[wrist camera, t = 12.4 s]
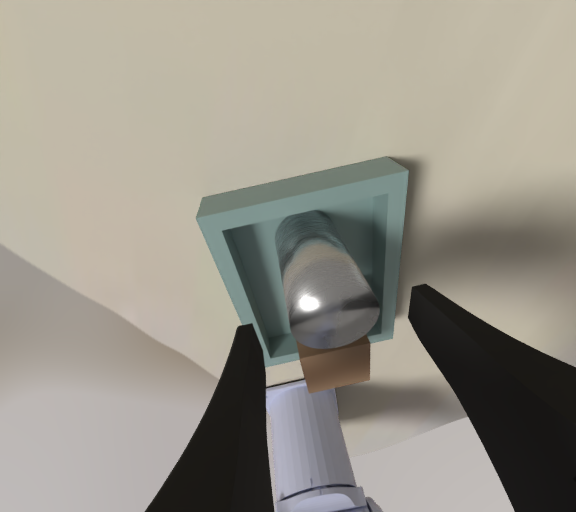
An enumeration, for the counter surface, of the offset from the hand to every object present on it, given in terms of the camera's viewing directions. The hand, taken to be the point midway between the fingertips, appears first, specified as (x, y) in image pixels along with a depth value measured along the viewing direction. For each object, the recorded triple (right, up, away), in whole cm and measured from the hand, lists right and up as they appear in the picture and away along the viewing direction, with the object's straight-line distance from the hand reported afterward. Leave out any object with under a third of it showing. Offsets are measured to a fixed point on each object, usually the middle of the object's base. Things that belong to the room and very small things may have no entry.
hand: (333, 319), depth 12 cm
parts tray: (0, +2, +8) cm, 8 cm away
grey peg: (-1, +4, +5) cm, 7 cm away
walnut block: (0, -1, +9) cm, 9 cm away
